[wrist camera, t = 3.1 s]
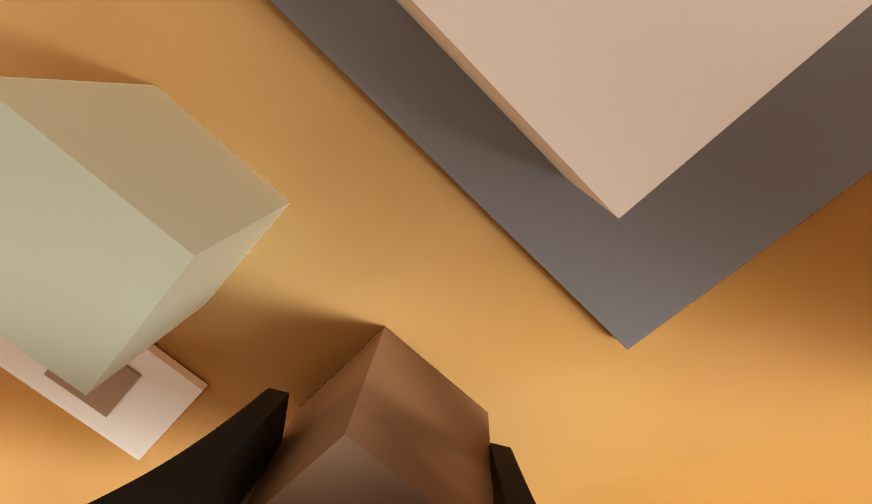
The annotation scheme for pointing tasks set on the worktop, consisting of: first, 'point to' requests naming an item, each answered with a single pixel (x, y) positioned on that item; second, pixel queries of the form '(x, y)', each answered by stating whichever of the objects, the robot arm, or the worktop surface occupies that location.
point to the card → (117, 396)
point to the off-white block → (627, 74)
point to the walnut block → (383, 437)
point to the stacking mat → (661, 208)
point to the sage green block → (113, 221)
